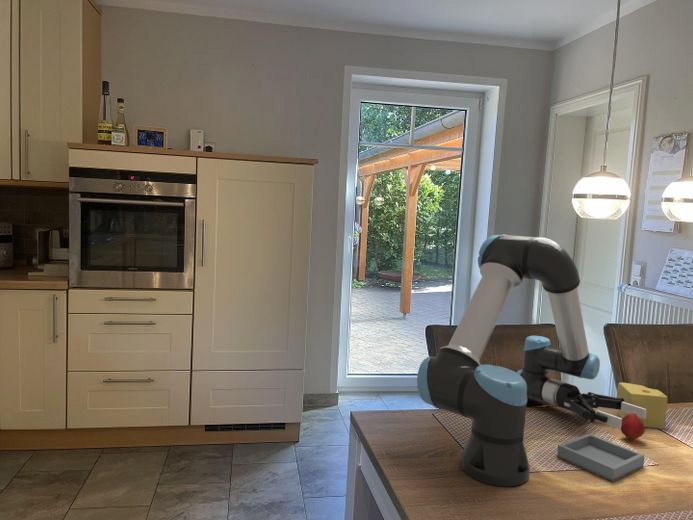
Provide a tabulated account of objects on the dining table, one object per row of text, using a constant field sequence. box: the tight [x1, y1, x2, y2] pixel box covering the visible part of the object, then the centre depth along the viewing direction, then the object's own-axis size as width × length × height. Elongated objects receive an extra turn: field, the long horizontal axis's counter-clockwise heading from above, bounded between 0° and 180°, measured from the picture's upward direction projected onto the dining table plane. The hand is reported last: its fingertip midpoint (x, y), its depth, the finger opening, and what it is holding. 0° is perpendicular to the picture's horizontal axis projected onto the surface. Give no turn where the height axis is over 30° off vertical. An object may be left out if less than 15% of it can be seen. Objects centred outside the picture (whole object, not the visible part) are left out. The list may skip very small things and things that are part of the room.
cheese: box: [616, 382, 668, 430], centre depth 151 cm, size 10×11×10 cm
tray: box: [556, 433, 645, 483], centre depth 124 cm, size 14×14×3 cm
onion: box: [620, 412, 646, 441], centre depth 138 cm, size 6×6×8 cm
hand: (633, 418), depth 138 cm, fingers open, 13 cm apart
